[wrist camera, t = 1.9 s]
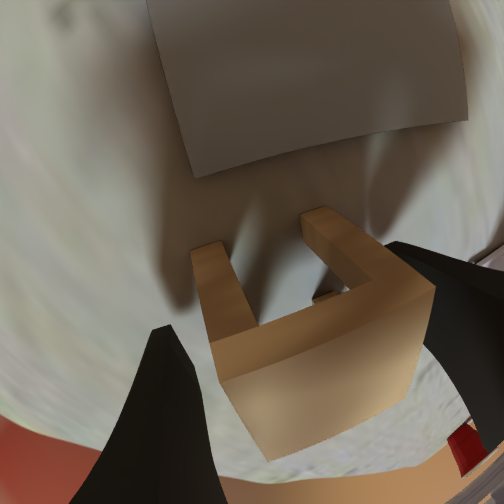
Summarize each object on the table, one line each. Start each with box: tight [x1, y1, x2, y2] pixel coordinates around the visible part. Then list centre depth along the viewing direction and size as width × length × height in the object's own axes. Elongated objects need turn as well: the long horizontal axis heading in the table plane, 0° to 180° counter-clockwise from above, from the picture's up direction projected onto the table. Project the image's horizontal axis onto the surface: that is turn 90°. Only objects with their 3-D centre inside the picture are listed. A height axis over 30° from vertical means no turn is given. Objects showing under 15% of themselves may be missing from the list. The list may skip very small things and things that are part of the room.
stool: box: [190, 206, 436, 462], centre depth 8 cm, size 5×5×5 cm
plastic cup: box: [447, 423, 499, 480], centre depth 39 cm, size 11×11×12 cm
